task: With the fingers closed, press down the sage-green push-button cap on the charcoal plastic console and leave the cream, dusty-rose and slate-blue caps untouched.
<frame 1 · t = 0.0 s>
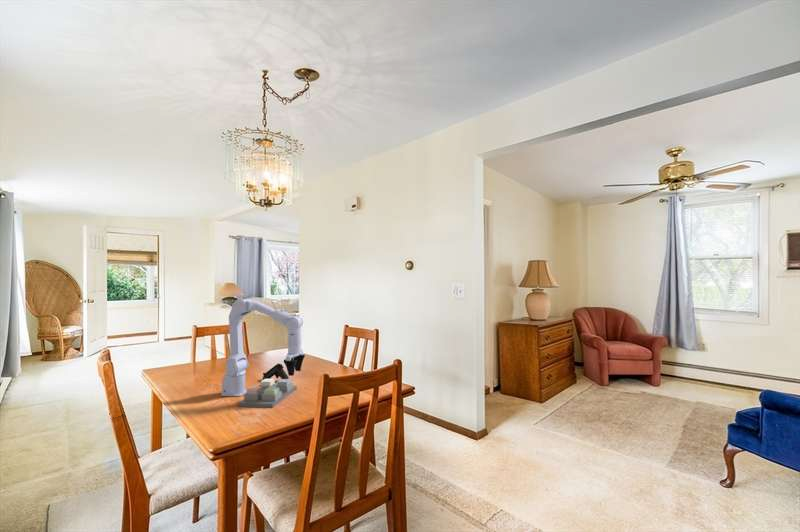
hand: (294, 373, 167), 10 cm above the table, tool pointing down, fingers open, 7 cm apart
sage button: (271, 391, 159), point 4 cm above the table, slide at 0.0 cm
control console: (269, 397, 165), on the table
rose button: (254, 390, 160), point 4 cm above the table, slide at 0.0 cm
slate button: (284, 383, 171), point 4 cm above the table, slide at 0.0 cm
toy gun: (275, 381, 191), on the table
cream button: (267, 382, 172), point 4 cm above the table, slide at 0.0 cm
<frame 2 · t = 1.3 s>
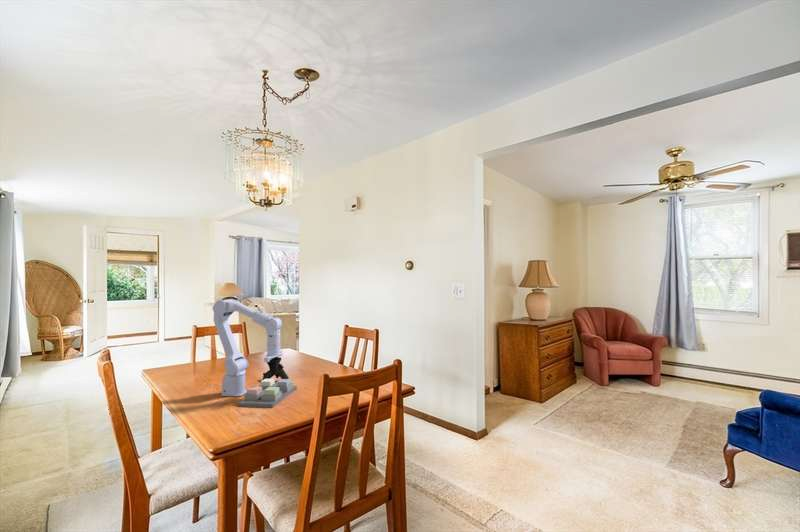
hand: (273, 374, 168), 9 cm above the table, tool pointing down, fingers closed
nothing on the table moved.
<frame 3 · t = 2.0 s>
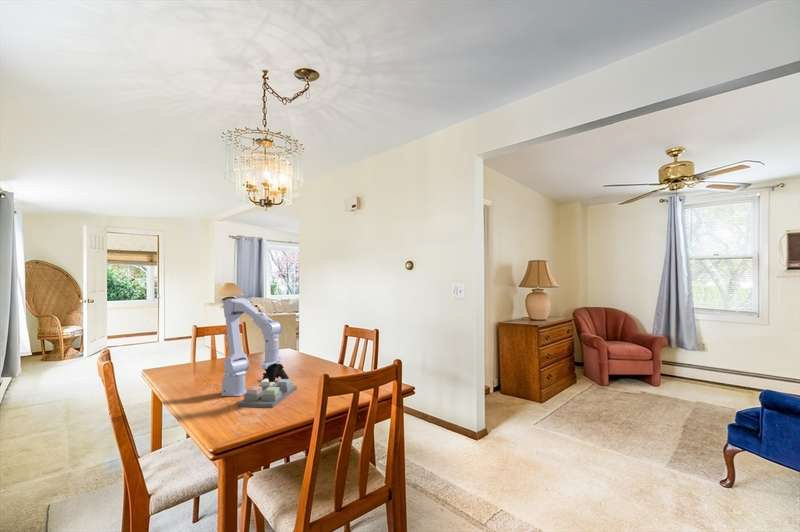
hand: (271, 381, 159), 9 cm above the table, tool pointing down, fingers closed
nothing on the table moved.
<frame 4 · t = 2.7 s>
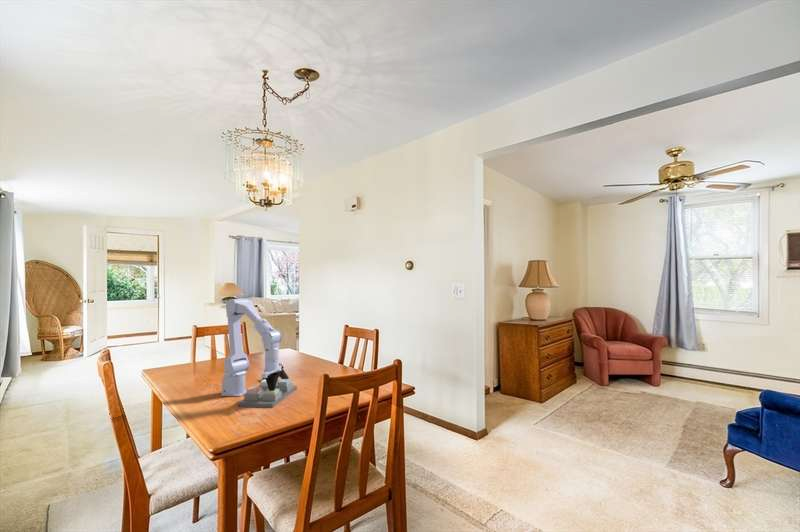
hand: (271, 390, 159), 5 cm above the table, tool pointing down, fingers closed, pressing on sage button
sage button: (271, 393, 159), point 4 cm above the table, slide at 0.7 cm, touching gripper
everything else where it was.
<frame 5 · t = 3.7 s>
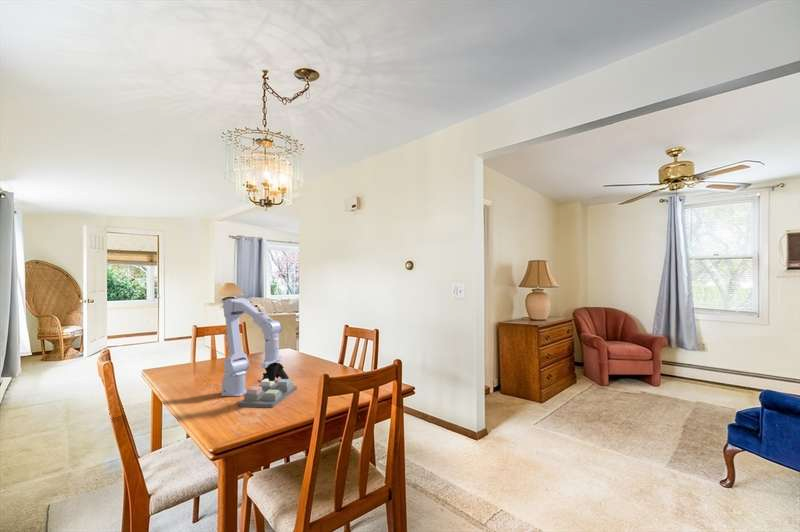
hand: (271, 380, 159), 9 cm above the table, tool pointing down, fingers closed
sage button: (271, 394, 159), point 3 cm above the table, slide at 1.2 cm
everything else where it was.
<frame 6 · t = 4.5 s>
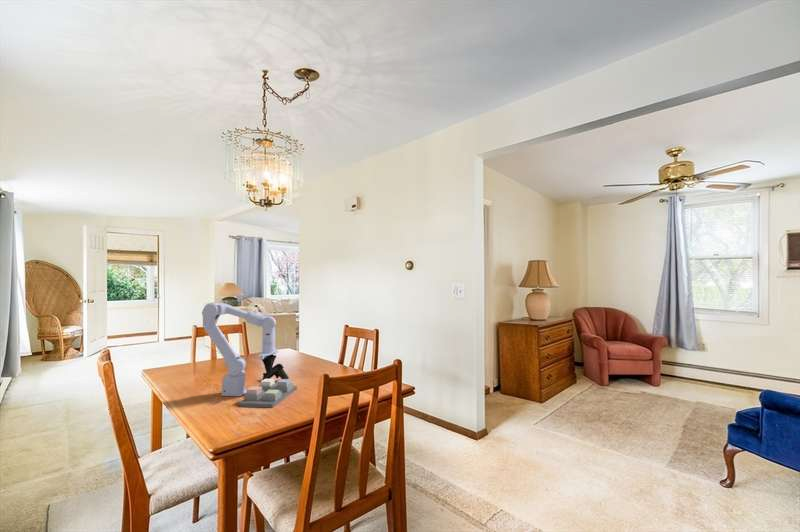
hand: (268, 371, 173), 9 cm above the table, tool pointing down, fingers closed
nothing on the table moved.
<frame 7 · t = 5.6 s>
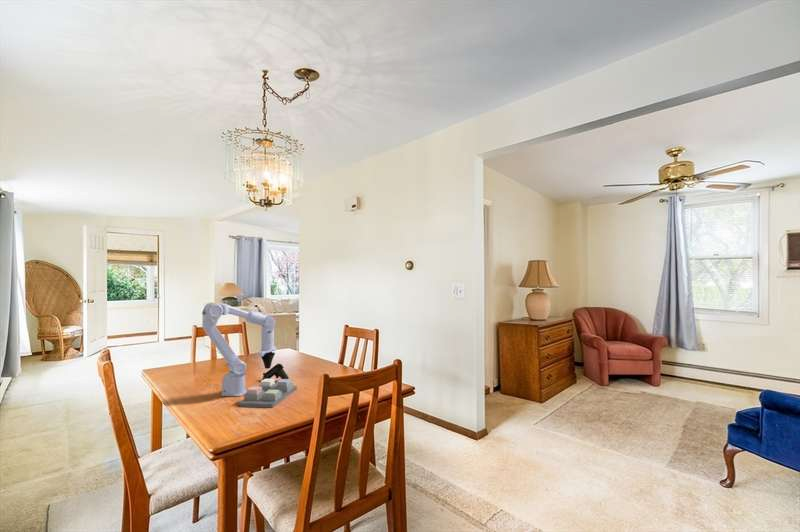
hand: (267, 368, 179), 9 cm above the table, tool pointing down, fingers closed
nothing on the table moved.
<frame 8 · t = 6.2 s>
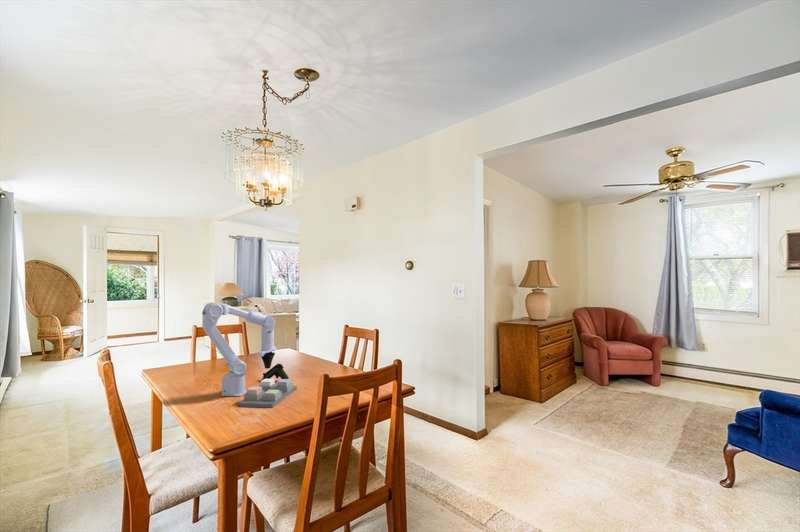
hand: (267, 368, 179), 9 cm above the table, tool pointing down, fingers closed
nothing on the table moved.
at the end: sage button slide at 1.2 cm; rose button slide at 0.0 cm; slate button slide at 0.0 cm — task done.
